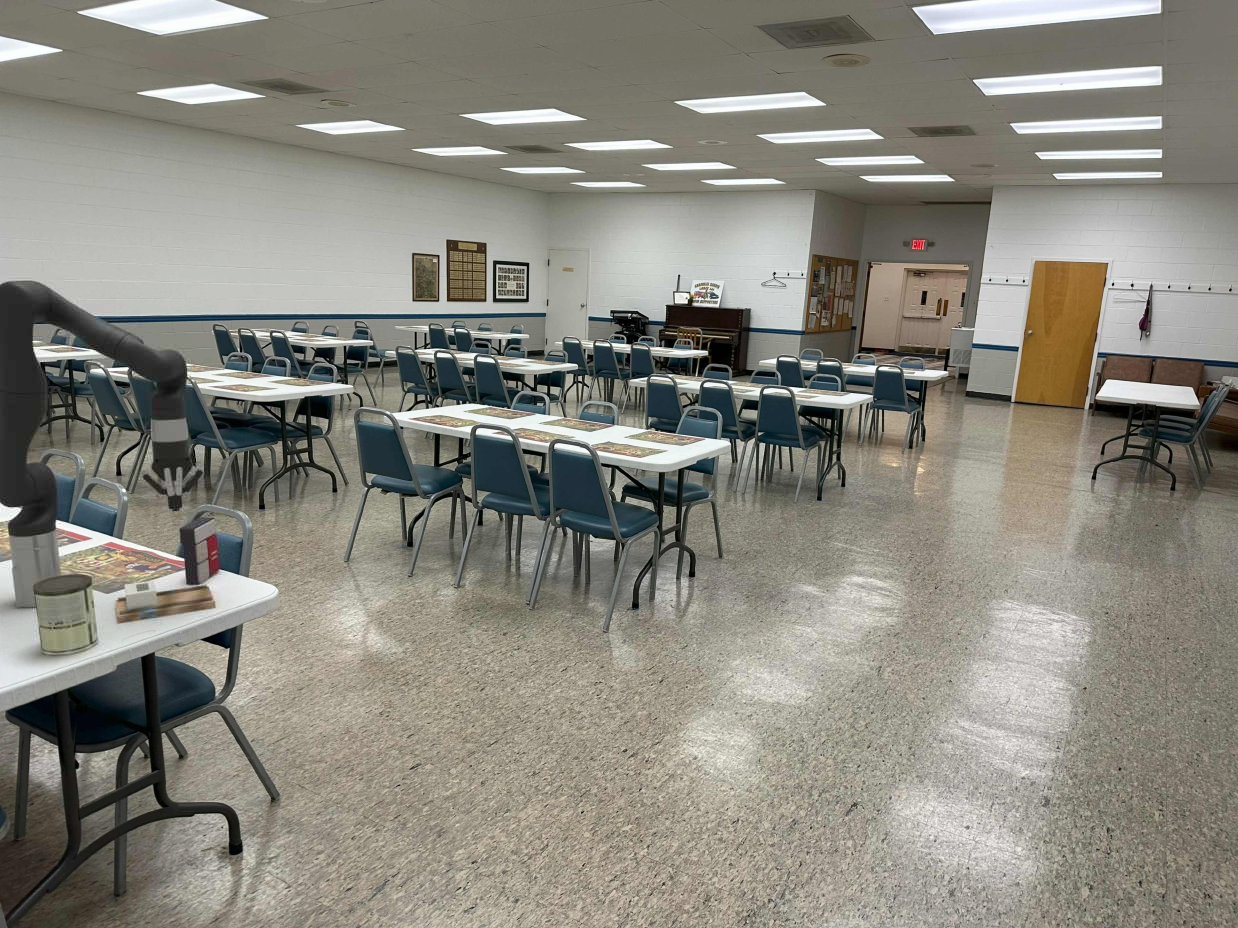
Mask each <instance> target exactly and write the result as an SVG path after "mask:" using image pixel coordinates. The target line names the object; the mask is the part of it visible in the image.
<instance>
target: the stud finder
mask: <svg viewBox="0 0 1238 928" xmlns="http://www.w3.org/2000/svg"><path fill="white" fill-rule="evenodd" d="M156 592H157V589H156V585H155V581H154V580H148V581H141V582H134V583H126V584H124V593H125V596H124V597H126V604H127V609H134V608H140V607H147V606H153V605H157V596H156Z"/></svg>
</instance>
